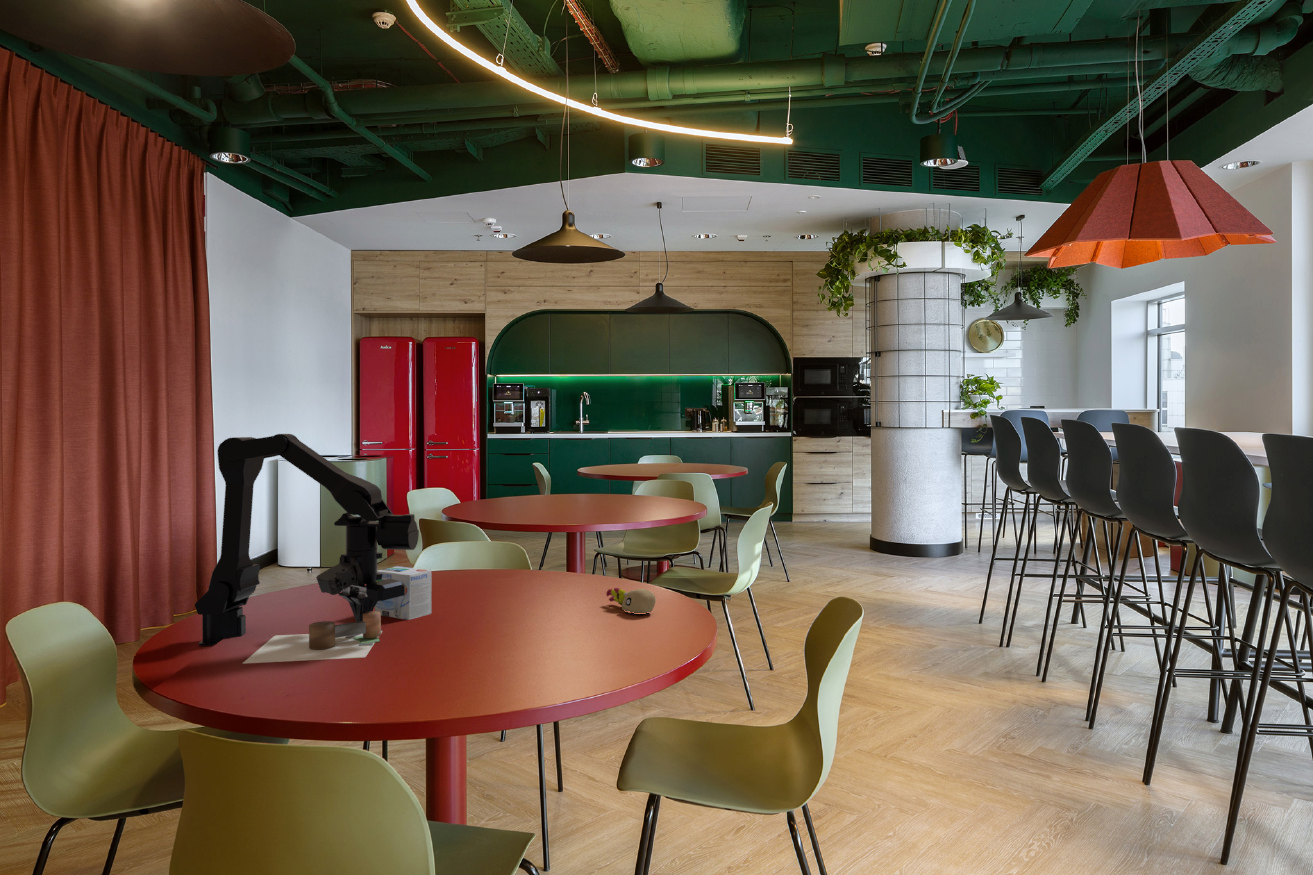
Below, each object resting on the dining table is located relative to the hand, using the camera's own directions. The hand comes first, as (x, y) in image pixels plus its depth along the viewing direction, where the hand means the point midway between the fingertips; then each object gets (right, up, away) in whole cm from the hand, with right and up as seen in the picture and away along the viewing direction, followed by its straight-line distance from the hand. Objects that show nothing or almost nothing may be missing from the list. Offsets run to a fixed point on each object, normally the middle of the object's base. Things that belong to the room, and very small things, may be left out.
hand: (361, 628), depth 149 cm
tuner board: (-5, -3, -7) cm, 9 cm away
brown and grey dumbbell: (-1, -1, -5) cm, 5 cm away
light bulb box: (+2, -3, +18) cm, 18 cm away
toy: (+51, -3, +26) cm, 57 cm away
